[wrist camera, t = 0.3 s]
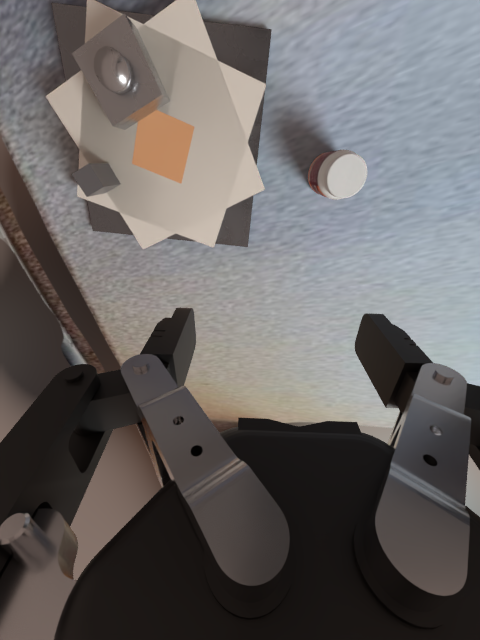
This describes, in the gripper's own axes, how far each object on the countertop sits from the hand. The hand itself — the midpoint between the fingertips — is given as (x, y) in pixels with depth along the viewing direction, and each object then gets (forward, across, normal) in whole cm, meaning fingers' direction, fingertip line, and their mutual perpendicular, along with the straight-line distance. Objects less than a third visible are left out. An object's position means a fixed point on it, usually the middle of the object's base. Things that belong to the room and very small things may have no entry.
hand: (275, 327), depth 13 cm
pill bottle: (+28, -8, -6) cm, 30 cm away
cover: (+25, +14, -14) cm, 32 cm away
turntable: (+27, +12, -8) cm, 30 cm away
